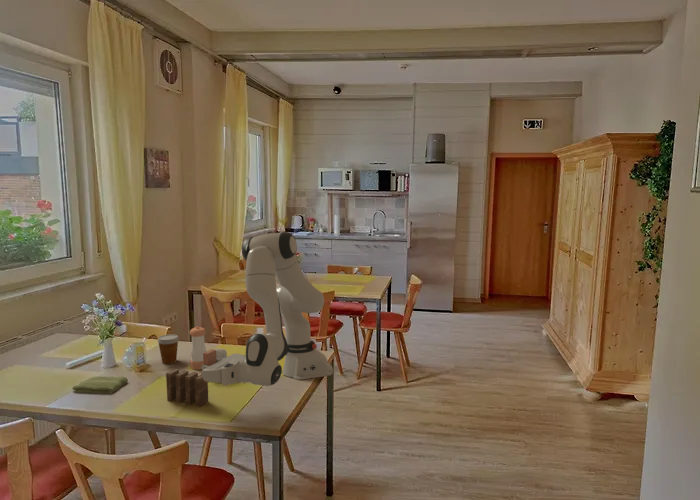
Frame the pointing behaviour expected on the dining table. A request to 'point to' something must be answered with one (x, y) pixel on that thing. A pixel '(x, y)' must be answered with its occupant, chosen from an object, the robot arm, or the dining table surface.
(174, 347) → the disposable coffee cup
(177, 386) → the walnut domino
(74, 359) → the dining table surface
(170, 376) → the walnut domino
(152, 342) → the dining table surface
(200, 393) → the walnut domino
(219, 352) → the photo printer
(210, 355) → the terracotta domino
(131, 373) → the dining table surface
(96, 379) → the washcloth
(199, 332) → the pepper shaker
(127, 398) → the dining table surface
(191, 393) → the walnut domino
